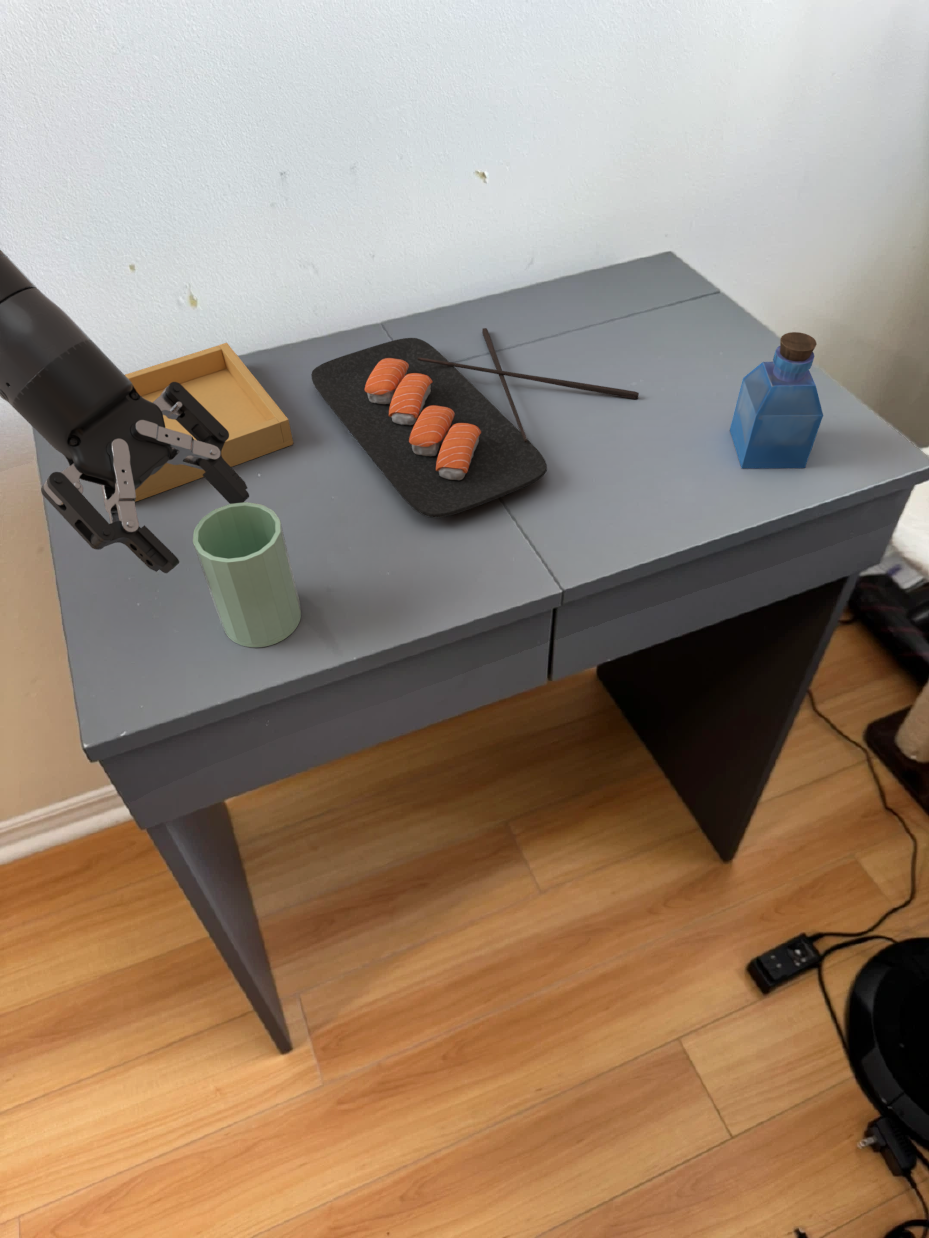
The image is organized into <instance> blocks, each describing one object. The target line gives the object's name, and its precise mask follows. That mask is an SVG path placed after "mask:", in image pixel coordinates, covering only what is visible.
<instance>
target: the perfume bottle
mask: <svg viewBox="0 0 929 1238" xmlns="http://www.w3.org/2000/svg"><path fill="white" fill-rule="evenodd" d="M816 347H817V340H816V339H815V337H813V336H812V335H809V334H807V333H804V332H799V331H792V332H791V331H789V332H785V333H784V334H783V335H781V337H780V341H779V346H777V347H776V349H775V351H774V354H773V358H772V361H761V363H759V364H758V365H756V367H754V368H753V369H752V370H751V371H750V372H748V373H747V374H746V375H745V376H743V377H742V380H741V384H740V388H739V392H738V396H737V398H736V399H737V400H736V404H735V407H734V411H733V415H732V420H731V424H730V427H729V433H730V436H731V439H732V442H733V447H734V449H735V452H736V456H737V459H738V462H739V465H740V468H741V469H806V466H807V464H808V461H809V459H810V458H809V457H810V455H811V452H812V449H813V447H814V443H815V441H816V438H817V434H818V432H819V429H820V426H821V423H822V421H823V417H824V412H823V409H822V403H821V400H820V398H819V397H820V396H819V393H818V388H817V385H816V383H815V380H814V378H813V376H812V373H811V371H810V369H811V368H812V366H813V364H814V359H815V353H814V350H815V348H816Z"/></svg>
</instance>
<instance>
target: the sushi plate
mask: <svg viewBox="0 0 929 1238" xmlns="http://www.w3.org/2000/svg"><path fill="white" fill-rule="evenodd" d="M481 331H482V332H481V333H482V336H483V338H484V341H485V344H486V346H487V349H488V352H489V354H490V357H491V359H492V362H493V364H494V367H495V369H494V368H487V367H481V366H476V365H469V364H463V363H456V362H451V361H449V360H448V359H446V357H445V356H444V355H443V354H441V352H440V351H438V350H437V349H436V348H435V347H434V346H432V345H431V344H430V343H428V342H426V341H425V340H423V339H421V338H417V337H403V338H398V339H394V340H390V341H387V342H383V343H380V344H376V345H373V346H370V347H367V348H363V349H360V350H357V351H353V352H351V353H348V354H345V355H342V356H339V357H336V358H333V359H331V360H330V359H329V360H328V361H325V362H323V363H321V364H319V365H317V366H316V367H315V368H314V369H313V370H312V371H311V374H310V376H311V381H312V384H313V386H314V387H315V389H316V390H317V392H318V393H319V395H320V396H321V397H322V399H323V400H324V401H325V402H326V404H327V405H328V406H329V407H330V409H331V410H332V411H333V412H334V413H335V415H336V416H337V418H338V419H339V420H340V421H341V423H342V424H343V425H344V426H345V428H346V429H347V430H348V431H349V433H350V434H351V435H352V436H353V437H354V439H355V440H356V441H357V443H358V444H359V445H360V446H361V447H362V449H363V450H364V451H365V453H366V454H367V455H368V456H369V457H370V459H371V460H372V462H374V464H375V465H376V466H377V467H378V469H379V470H380V471H381V472H382V474H383V475H384V476H385V477H386V479H387V480H388V481H389V482H390V484H391V485H392V486H393V488H395V490H396V491H397V492H398V493H399V495H400V496H401V497H402V499H404V501H406V503H408V504H409V505H410V507H411V508H412V509H414V510H415V511H417V512H418V513H419V514H421V515H423V516H425V517H429V518H445V517H449V516H454V515H456V514H457V515H458V514H460V513H464V512H465V511H469V510H471V509H474V508H476V507H480V506H482V505H485V504H487V503H489V502H492V501H494V500H497V499H499V498H502V497H505V496H507V495H510V494H512V493H515V492H516V491H519V490H521V489H524V488H526V487H528V486H529V485H532V484H533V483H535V482H537V481H538V480H540V479H541V478H542V477H544V475H545V474H546V473H547V471H548V465H547V462H546V460H545V458H544V456H543V455H542V453H541V452H540V451H539V449H538V448H536V446H535V445H534V444H533V443H532V442H531V441H530V440H529V439H528V438H527V435H526V432H525V430H524V427H523V425H522V422H521V419H520V415H519V413H518V411H517V408H516V405H515V403H514V400H513V397H512V394H511V392H510V389H509V386H508V384H507V380H506V378H505V376H506V377H511V378H516V379H522V380H529V381H532V382H533V381H534V382H539V383H545V384H550V385H555V386H560V387H565V388H569V389H570V388H571V389H575V390H581V391H587V392H592V393H593V392H594V393H599V394H602V395H603V394H604V395H610V396H615V397H621V398H625V399H632V400H638V399H639V395H640V392H638V391H634V390H629V389H622V388H616V387H609V386H604V385H599V384H590V383H585V382H578V381H572V380H565V379H557V378H551V377H545V376H538V375H532V374H525V373H519V372H512V371H506V370H503V369H502V366H501V363H500V360H499V357H498V354H497V352H496V348H495V346H494V343H493V340H492V337H491V335H490V332H489V330H488V328H487V327H482V330H481ZM457 368H461V369H466V370H472V371H478V372H484V373H489V374H495V375H498V377H499V380H500V382H501V385H502V387H503V390H504V392H505V396H506V398H507V401H508V403H509V406H510V408H511V411H512V413H513V416H514V418H515V421H516V424H517V426H518V428H517V427H516V426H515V425H514V424H513V423H512V422H511V421H510V420H509V419H508V418H507V417H506V416H505V415H503V413H502V412H500V410H499V409H498V408H497V407H496V406H494V404H493V403H491V401H490V400H489V399H487V397H486V396H484V394H482V393H481V392H480V391H479V390H478V389H477V388H476V387H475V386H474V385H473V383H471V382H470V381H469V380H468V379H467V378H466V377H465V376H464V375H463V374H462V373H461V371H459V370H458V369H457Z"/></svg>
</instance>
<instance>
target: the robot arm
mask: <svg viewBox="0 0 929 1238" xmlns="http://www.w3.org/2000/svg"><path fill="white" fill-rule="evenodd" d="M0 398H1V399H3V400H4V401H6V402H7V403H8V404H9V405H10V406H11V407H12V408H13V409H14V410H15V411H16V412H17V413H18V414H19V415H20V416H21V417H22V418H23V419H24V420H25V421H26V422H27V423H28V424H29V425H30V426H31V427H32V428H33V429H34V430H35V431H36V432H37V433H38V434H39V435H40V436H41V437H42V438H43V439H44V440H45V441H46V442H48V443H49V445H50V446H52V448H53V449H54V450H56V451H57V452H59V453H60V454H61V455H63V456H64V457H65V459H66V461H67V463H68V467H66V468H64V469H63V470H61V471H54V472H52V473H50V474H49V476H48V477H47V479H46V480H45V482H44V483H43V484H42V486H41V488H40V493H41V494H42V496H43V497H44V498H45V499H46V500H47V501H48V502H49V504H50V505H51V506H52V507H53V508H54V509H55V510H56V511H57V512H58V514H60V515H61V517H63V519H64V520H65V521H66V522H67V523H68V524H69V525H70V526H71V527H72V528H73V529H74V531H76V533H78V535H79V536H80V537H81V538H82V539H83V541H85V543H87V544H88V545H89V546H90V548H91V549H93V550H96V551H98V550H102V549H104V547H107V546H110V545H113V544H117V543H118V544H123V545H124V546H126V547H127V548H128V549H129V550H130V551H131V552H132V553H133V554H134V555H135V556H136V557H137V558H138V559H139V560H140V561H141V562H142V563H143V564H144V565H145V566H146V567H147V568H148V569H150V570H151V571H153V572H155V573H158V571H160V572H162V573H164V574H168V573H170V572H171V571H172V570H173V569H174V568H175V567H177V566H178V565H179V564H180V560H179V557H177V556H176V555H175V554H174V553H173V551H171V550H170V549H169V548H168V547H167V546H166V545H165V544H164V542H163V541H161V540H160V539H159V537H157V536H156V535H155V534H154V532H152V531H151V530H150V529H149V528H148V527H147V526H146V525H145V524H144V525H143V526H140V522H139V518H138V511H137V506H136V502H135V499H136V492H135V490H136V489H137V488H138V487H139V486H141V485H142V484H143V483H144V481H145V480H146V479H147V478H148V477H149V476H150V475H153V474H155V473H156V472H157V471H158V470H160V469H161V468H162V467H163V466H164V465H165V464H166V463H169V464H173V465H179V464H183V465H187V466H190V467H194V468H198V469H201V470H204V471H205V473H204V474H203V476H204V477H203V478H205V479H206V481H207V482H208V483H209V484H210V485H211V486H212V487H213V488H214V489H215V490H216V491H217V492H218V493H219V494H220V495H221V496H222V497H223V499H224V500H226V502H228V504H234V503H243V502H247V500H248V499H249V498H250V493H249V492H248V491H247V489H248V485H247V484H246V482H245V480H244V479H243V478H242V477H240V475H239V474H238V473H237V472H236V471H235V470H234V469H233V467H230V466H229V465H228V463H227V462H226V461H225V460H224V459H223V458H222V455H221V450H222V448H223V446H224V444H225V441H226V440H227V439H228V438H229V432H228V431H227V429H226V428H225V427H224V426H223V425H222V424H221V423H220V422H219V421H217V420H216V419H215V418H214V417H213V416H212V415H211V414H210V413H209V412H208V411H207V410H206V409H205V408H204V407H203V406H202V405H201V404H200V403H199V402H198V401H197V400H196V399H195V398H194V397H193V396H192V395H191V394H190V393H189V392H188V391H187V390H186V389H185V388H184V387H183V386H182V385H181V384H180V383H178V382H172V383H170V384H169V386H167V387H166V388H165V390H164V391H163V392H162V394H161V395H160V396H159V397H158V398H157V399H156V400H155V401H154V402H153V403H152V402H150V401H148V400H146V399H144V398H143V397H141V396H140V395H139V394H138V392H137V391H136V389H135V388H134V386H133V384H132V382H131V381H130V380H129V379H128V378H127V377H126V376H125V373H123V372H122V370H121V369H119V367H118V366H117V365H116V364H115V363H114V362H113V361H112V360H111V359H110V358H109V357H108V356H107V355H106V353H104V351H102V349H101V348H100V347H99V346H98V345H97V344H96V342H94V341H93V340H92V339H91V337H90V336H89V335H88V334H86V333H85V331H84V330H83V329H82V328H81V327H80V326H79V325H78V324H77V323H76V322H75V321H74V320H73V319H72V318H71V317H70V316H69V314H68V313H67V312H66V311H64V310H63V309H62V308H61V307H60V306H58V304H56V303H55V302H54V301H52V300H51V299H50V298H49V297H48V296H46V295H45V294H44V293H43V292H42V291H41V289H39V288H38V287H37V286H36V284H35V283H34V282H32V281H31V279H29V277H28V276H26V274H25V273H24V272H23V271H22V270H21V269H20V268H19V266H17V265H16V264H15V263H14V261H12V260H11V259H10V257H9V256H8V255H7V254H6V253H5V252H4V250H2V249H1V248H0ZM163 415H165V416H166V417H167V418H168V419H173V420H177V421H178V422H179V423H180V424H181V425H182V426H183V427H184V428H185V429H186V430H187V431H188V432H189V433H190V434H191V435H192V436H193V437H194V438H195V439H196V440H195V439H193V437H192V436H191V435H188V434H184V433H181V432H177V431H174V430H171V429H167V428H166V427H165V422H164V418H163ZM80 480H82V481H85V482H89V483H93V484H97V485H100V486H101V492H102V497H103V502H104V507H105V511H106V513H108V517H109V522H108V521H107V520H106V519H105V517H103V515H102V514H101V512H99V511H98V510H97V509H96V507H94V506H93V504H92V503H91V502H90V501H89V500H88V499H87V497H85V495H84V494H83V493H84V486H83V485H82V483H81V481H80Z"/></svg>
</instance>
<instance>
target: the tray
mask: <svg viewBox="0 0 929 1238" xmlns="http://www.w3.org/2000/svg"><path fill="white" fill-rule="evenodd" d="M124 375H125V376H126V377H127V378H128V379H129V380H130V381H131V382H132V384H133V386H134V388H135V389H136V391H137V392H138V394H139V395H140V396H141V397H143V398H144V399H146V400H148V401H150V402H152V403H153V402H154V401H155V400H156V399H157V398H158V397H159V396H160V395H161V394H162V392H163V391H164V390H165V388H166V387H167V386H169V384H170V383H172V382H178V383H180V384H181V385H182V386H183V387H184V388H185V389H186V390H187V391H188V392H189V393H190V394H191V395H192V396H193V397H194V398H195V399H196V400H197V401H198V402H199V403H200V404H201V405H202V406H203V407H204V408H205V409H206V410H207V411H208V412H209V413H210V414H211V415H212V416H213V417H214V418H215V419H216V420H217V421H219V422H220V423H221V424H222V425H223V426H224V427H225V428H226V429H227V431H228V432H229V438H228V439H227V440H226V441H225V444H224V446H223V448H222V450H221V455H222V458H223V459H224V460H225V461H226V462H227V463H228V465H229V466H230V467H231V468H233V467H235V466H238V465H241V464H243V463H246V462H249V461H252V460H254V459H257V458H259V457H263V456H265V455H268V454H271V453H273V452H277V451H279V450H282V449H284V448H287V447H290V446H292V445H294V439H293V435H292V430H291V425H290V421H289V418H288V417H287V416H286V415H285V413H284V412H283V411H282V409H280V407H279V406H278V405H277V403H276V402H275V400H274V399H273V398H272V397H271V396H270V395H269V393H268V392H267V390H265V387H263V386H262V384H261V383H260V382H259V381H258V380H257V378H256V377H255V376H254V374H252V372H251V371H250V370H249V368H248V367H247V366H246V365H245V363H244V362H243V360H242V359H241V358H240V357H239V356H238V355H237V353H236V352H235V351H234V350H233V348H232V347H231V345H230V344H229V343H228V342H223V343H221V344H218V345H215V346H212V347H208V348H205V349H201V350H199V351H196V352H193V353H189V354H185V355H183V356H179V357H177V358H174V359H170V360H167V361H164V362H160V363H157V364H154V365H151V366H147V367H145V368H142V369H139V370H136V371H131V372H129V373H126V374H125V373H124ZM163 418H164V422H165V427H166V428H167V429H171V430H174V431H177V432H181V433H184V434H188V435H191V434H190V433H189V432H188V431H187V430H186V429H185V428H184V427H183V426H182V425H181V424H180V423H179V422H178V421H177V420H173V419H168V418H167V417H166V416H165V415H163ZM191 436H192V435H191ZM192 437H193V436H192ZM193 439H195V438H194V437H193ZM195 440H196V439H195ZM204 473H205V471H204V470H201V469H198V468H194V467H190V466H187V465H183V464H179V465H173V464H169V463H166V464H165V465H164V466H163V467H162V468H161V469H160V470H158V471H157V472H156V473H155V474H153V475H150V476H149V477H148V478H147V479H146V480H145V481H144V483H143V484H142V485H141V486H139V487H138V488H137V489H136V490H135V492H136V499H135V503H136V502H139V501H142V500H145V499H147V498H150V497H153V496H155V495H158V494H161V493H165V492H166V491H169V490H171V489H175V488H177V487H180V486H183V485H186V484H189V483H192V482H194V481H197V480H200V479H203V478H205V477H204V476H203V474H204Z"/></svg>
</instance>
